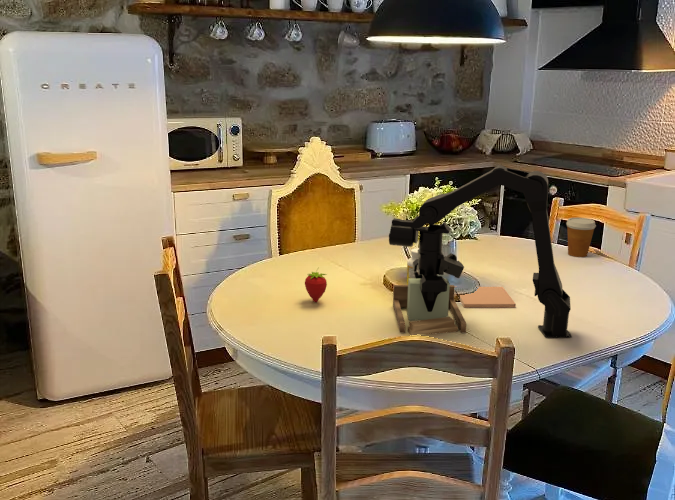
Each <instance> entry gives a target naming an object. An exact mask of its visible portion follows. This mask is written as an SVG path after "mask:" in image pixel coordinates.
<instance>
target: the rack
mask: <svg viewBox="0 0 675 500" xmlns="http://www.w3.org/2000/svg"><path fill="white" fill-rule="evenodd" d="M455 287H456V286H455V285H454V284H450V288H449V305H448V310H449V311H450V313H451V315H452V317H453V320H454V321H455V323H456V326H457V327H458V331H460V333H461V334H463V333H467V322H466V319H465V318H464V316H463V313H462V312H461V310H460V308H459V306H458V304H457V302H456V300H455V290H454V288H455ZM392 294H393V295H392V307H393V312H394V315H395V319H396V323H397V327H398V331H399V333H403V334H404V333H406V321H405V317H404V314H403V312H402V308H403V309H404V308H405V309H407V300H408V285H407V284H393V292H392Z"/></svg>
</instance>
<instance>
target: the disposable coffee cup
mask: <svg viewBox="0 0 675 500" xmlns="http://www.w3.org/2000/svg"><path fill="white" fill-rule="evenodd" d="M595 221H596V220H593V219H590V218H586V217H571V218H570V217H569V218H568V219H567V221H566V227H567V231H566V232H567V254H568V255H569V256H571V257H574V258H575V257H576V258H586V257H587V256H588V254H589V251H590V247H591V243H592V238H593V235H594V231H595V228H596V227H597V225H596V222H595Z"/></svg>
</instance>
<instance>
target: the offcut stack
mask: <svg viewBox="0 0 675 500" xmlns="http://www.w3.org/2000/svg"><path fill="white" fill-rule="evenodd" d="M455 323H456V321H455V319H454V318H452V317H451V316H448V317H443V318H435V319H427V320H410V321H408V326H407V332H408V333H409V334H410V336H412V335H417V334H426V336H427V335H436V334H435V333H437V334H445V333H446V332H447V333H454V332H455V333H456V332H458V331H459V328H458V325H457V324H455ZM417 336H418V335H417Z"/></svg>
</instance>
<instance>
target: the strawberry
mask: <svg viewBox="0 0 675 500" xmlns="http://www.w3.org/2000/svg"><path fill="white" fill-rule="evenodd" d="M318 270H319V268H317V269H316V271H311V273H307V276H306V278H305V280H304V285H305V286H304V287H305V290H306V292H307V294H308V295H309V297H310V298H311V300H312V302H314V303H318V301H319V300H320V299H321V298H322V297H323V295H324V294H325V292H326V289H327V286H328V283H327V282H328V281H327V279H326V277H325V276H326V275H328V273H327V274H326V273H319V272H318Z"/></svg>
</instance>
